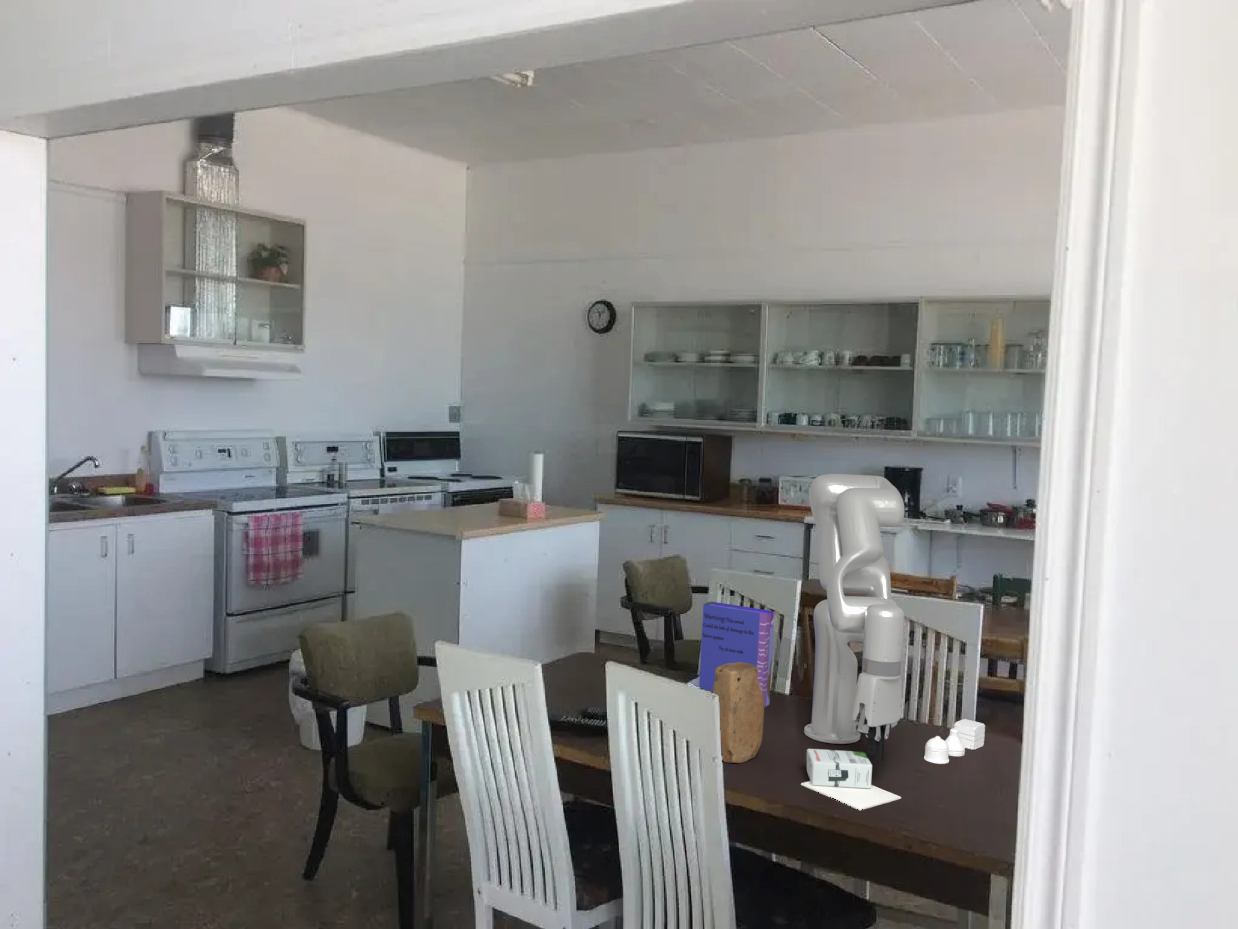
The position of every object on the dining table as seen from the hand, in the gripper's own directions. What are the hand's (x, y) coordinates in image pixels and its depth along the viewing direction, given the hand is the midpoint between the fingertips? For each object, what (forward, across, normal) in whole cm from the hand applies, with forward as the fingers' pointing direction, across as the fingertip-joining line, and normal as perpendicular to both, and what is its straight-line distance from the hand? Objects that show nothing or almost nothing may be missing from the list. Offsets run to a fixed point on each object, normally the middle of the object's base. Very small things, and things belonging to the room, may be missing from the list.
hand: (875, 757), depth 210 cm
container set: (+6, -32, -5) cm, 33 cm away
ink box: (+3, 0, -1) cm, 3 cm away
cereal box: (+6, -16, -58) cm, 60 cm away
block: (+6, +14, -26) cm, 30 cm away
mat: (+6, +7, 0) cm, 9 cm away
